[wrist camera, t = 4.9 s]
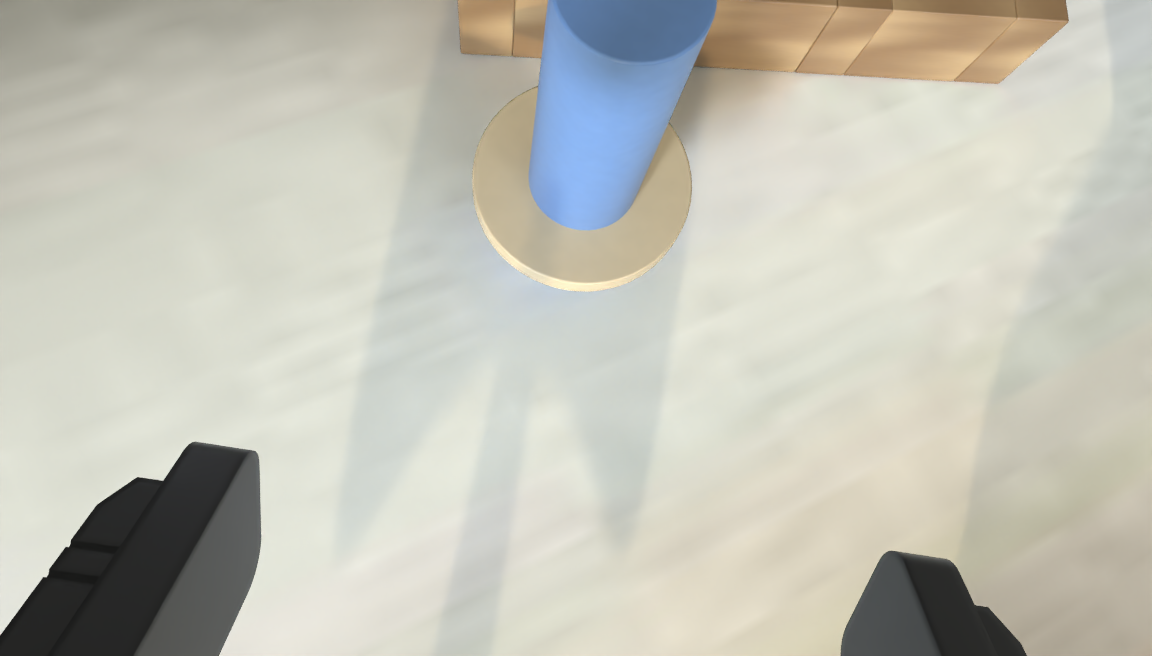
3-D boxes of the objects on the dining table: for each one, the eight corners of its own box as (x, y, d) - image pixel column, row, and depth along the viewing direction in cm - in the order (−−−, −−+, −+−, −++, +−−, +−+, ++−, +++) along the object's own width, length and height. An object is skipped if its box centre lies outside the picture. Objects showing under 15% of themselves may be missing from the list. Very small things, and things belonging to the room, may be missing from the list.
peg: (446, 282, 28) (412, 74, 15) (511, 114, 29) (529, -199, 17) (632, 346, 28) (750, 192, 15) (686, 175, 30) (834, -91, 17)
